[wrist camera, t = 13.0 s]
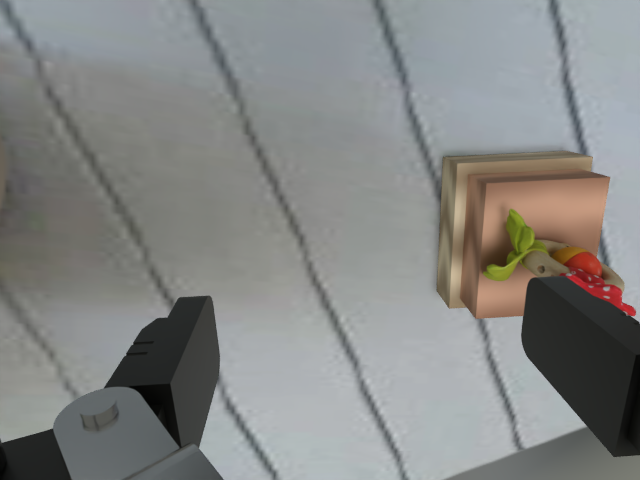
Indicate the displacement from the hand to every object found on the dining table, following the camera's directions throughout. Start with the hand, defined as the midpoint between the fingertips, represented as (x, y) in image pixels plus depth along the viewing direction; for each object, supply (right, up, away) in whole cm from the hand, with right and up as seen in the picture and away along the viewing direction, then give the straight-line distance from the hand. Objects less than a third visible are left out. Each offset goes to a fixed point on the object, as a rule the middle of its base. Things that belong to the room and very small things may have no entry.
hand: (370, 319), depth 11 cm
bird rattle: (+16, +2, +26) cm, 31 cm away
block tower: (+17, +4, +34) cm, 38 cm away
